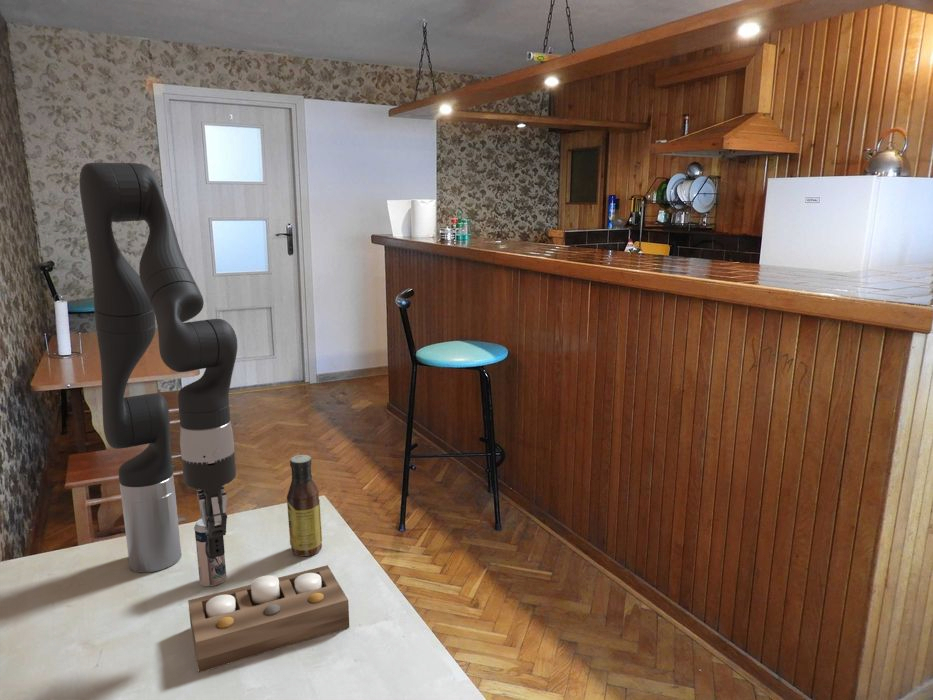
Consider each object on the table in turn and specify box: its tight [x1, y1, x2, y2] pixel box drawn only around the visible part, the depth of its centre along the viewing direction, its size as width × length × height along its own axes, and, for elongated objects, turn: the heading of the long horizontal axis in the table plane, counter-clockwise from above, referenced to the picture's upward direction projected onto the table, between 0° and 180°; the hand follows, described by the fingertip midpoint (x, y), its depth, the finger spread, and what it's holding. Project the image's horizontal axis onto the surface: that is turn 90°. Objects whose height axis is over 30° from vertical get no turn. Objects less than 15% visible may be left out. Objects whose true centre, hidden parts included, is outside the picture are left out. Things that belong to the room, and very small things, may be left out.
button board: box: [187, 564, 350, 673], centre depth 106 cm, size 12×23×5 cm, turn 118°
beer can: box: [193, 517, 228, 588], centre depth 119 cm, size 5×5×12 cm
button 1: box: [206, 595, 236, 618], centre depth 105 cm, size 4×4×3 cm
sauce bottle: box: [286, 454, 323, 557], centre depth 129 cm, size 6×6×20 cm
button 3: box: [295, 573, 322, 595], centre depth 111 cm, size 4×4×3 cm
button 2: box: [250, 575, 280, 605], centre depth 108 cm, size 4×4×3 cm
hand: (216, 554), depth 103 cm, fingers closed
